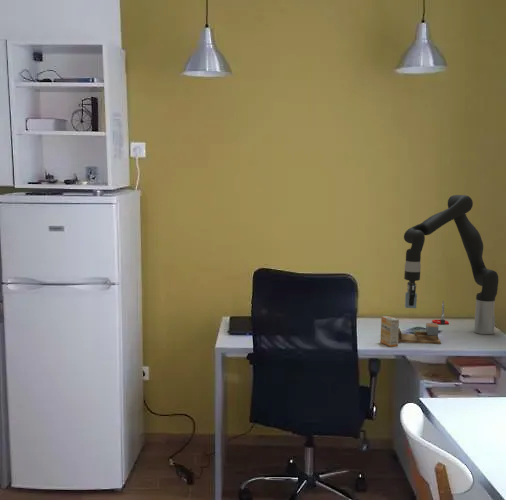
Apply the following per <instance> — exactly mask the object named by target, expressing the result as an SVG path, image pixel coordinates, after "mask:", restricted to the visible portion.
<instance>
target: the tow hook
mask: <svg viewBox="0 0 506 500" xmlns="http://www.w3.org/2000/svg"><path fill="white" fill-rule="evenodd" d="M440 318H441V319H432V320H431V323H436V324H437V325H449V324H450V322H449V321H448V320H446V319H445V300H443V301H442V305H441V316H440Z"/></svg>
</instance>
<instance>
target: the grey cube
mask: <svg viewBox="0 0 506 500" xmlns="http://www.w3.org/2000/svg"><path fill="white" fill-rule="evenodd" d="M425 332H426V336H438V337H439V324H436V323H433V322H431V323H430V322H426V323H425Z"/></svg>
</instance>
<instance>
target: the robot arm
mask: <svg viewBox="0 0 506 500" xmlns="http://www.w3.org/2000/svg"><path fill="white" fill-rule="evenodd" d="M473 201H474V200H473V199H472V198H471V197H470V196H469V195H465V194H454V195H451V196H449V197H448V199H447V208H446V209H444V210H441V211H439V212H437V213H435V214H433V215H431V216H429V217H428V218H426V219H425V220H423V221H422V222H421V223H417V224H415V225H414V226H411V227H410V228H408V229H407V230H406V231H405V232H404V234H403V239H404V241H405V243H407V244H411V247H410V248H408V249H406V252H405V264H404V274H403V275H404V277H403V278H404V280H405V281H408V282H407V283H406V285H407V288H406V289H407V291H406V292H408V293H409V305H410V306H413V305H414V298H415V293H416V294H417V291H416V289H417V283H416V282H417V281H420V280H421V268H422V267H421V259H422V258H421V254H422V250H423V247H424V244H425V239H426V237H425V236H429V235H431V234H433V233H434V232H435V231H437V230H439V229H440V228H441V227H443V226H445V225H446V224H447V223H449V222H451V221H453V222H454V224H455V225H456V229H457V231H458V233H459V236H460V238H461V242H462V244H463V248H464V250H465V253H466V255H467V259H468V261H469V264H470V267H471V272H472V275H473V279H474V282H475V283H476V284H477V285H479V286H480V287H481V291H480V292H478V293H477V294H476V295H475V313H474V327H473V329H474V330H473V332H474V333H476V334H479V335H480V334H481V335H494V334H495V326H496V325H495V322H496V315H495V306H496V305H495V303H496V297H497V295H498V289H499V288H498V287H499V275H498V272H497V271H495V270H493V269H489V268H487V267H486V265H485V262H484V258H483V253H484V242H483V240H482V236H481V234H480V232H479V231H478V229H477V228H476V226H474V224H473V222H471V221H470V220H469V218H468V217H467V213H469V212H470V211H471V210H472V208H473V205H474V202H473ZM411 293H413V295H411Z"/></svg>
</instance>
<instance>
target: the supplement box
mask: <svg viewBox="0 0 506 500" xmlns="http://www.w3.org/2000/svg"><path fill="white" fill-rule="evenodd" d="M380 318H381V321H380V323H381V324H380V339H379V341H380V343H381V344H384V345H386V346H388V347H389V348H390V347H397V346H399V345H398V344H399V342H398V329H399V327H400V319H398V318H396V317H393V316H390V315H383V316H381V317H380Z"/></svg>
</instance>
